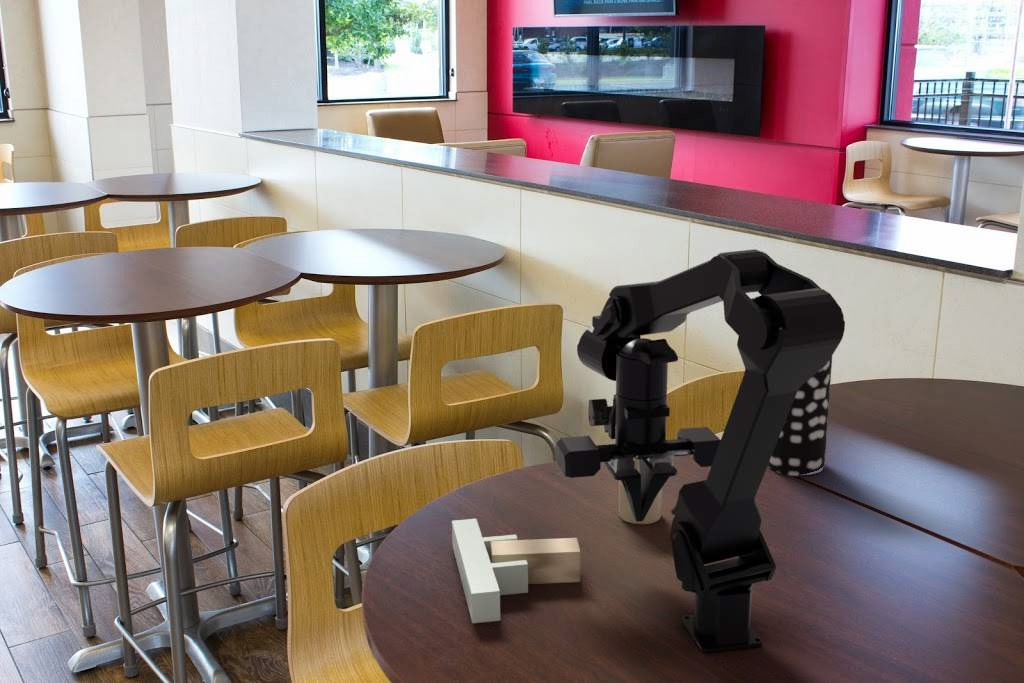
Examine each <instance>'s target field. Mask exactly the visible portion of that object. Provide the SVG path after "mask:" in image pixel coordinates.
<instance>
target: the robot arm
mask: <svg viewBox="0 0 1024 683" xmlns="http://www.w3.org/2000/svg"><path fill="white" fill-rule="evenodd" d="M750 293H758V294H759V295H758V296H755V297H752V298H751V297H750V296H749V295H748V294H750ZM721 302H722V303H723V315H724V321H725V322H726V324H727V325H728V326H729V327H730V328H731V329H732V331H734V333H735V334H736V335H737V336H738V339H737V342H736V346H737V349H738V352H739V354H740V357H741V361H742V363H743V366H744V374H743V377H742V379H741V382H740V384H739V389H738V391H737V394H736V396H735V399H734V402H733V404H732V406H731V407H732V408H731V410H730V414H729V416H728V418H727V421H726V423H725V424H726V425H725V427H724V430H723V433H722V435H721V437H720V438H721V439H720V438H719V436H717V435H716V434H715V433H714V432H713V431H712V430H711V429H710V428H709V427H708V426H701V427H690V428H689V427H688V428H680V429H679V430H678V431H677V434H676V438H675V439H667V417H668V418H669V417H670V414H671V413H670V409H671V408H670V406H669V405H668V376H669V374H668V373H669V372H668V370H669V363H675V362H676V363H677V362H678V360H679V357H678V355H677V354H678V353H677V352H676V351H675V349H673V348H672V347H671V346H670V345H669V343H668V341H667V339H666V338H661V339H651V338H645V337H642V336H646V335H647V336H648V335H655V334H662V333H668V332H669V333H670V332H672V331H674V330H675V329H676V328H678V327H679V326H681V325H682V324H683V323H685V322H686V320H687V316H688V315H689V314H690V313H692V312H696V311H699V310H702V309H704V308H708V307H710V306H712V305H715V304H716V305H717V304H718V303H721ZM591 320H592V321H591V322H592V323H591V326H589V327H588V328H587V329H586V330H585V331H584V332H583V333H582V334H581V336H580V338H579V341H578V344H577V345H576V346H577V347H576V352H577V353H576V354H577V356H578V359H579V361H580V362H581V363H582V365H584V366H585V367H586V368H588V369H590V370H591V371H594V372H595V373H597V374H599V375H601V376H602V377H605V378H606V379H608V380H610V381H613V382H615V394H613V399H612V405H610V406H609V405H608V401H607V399H606V398H597V399H596V398H595V399H588V411H587V412H588V414H587V415H588V423H589V426H590V427H600V426H603V428H604V433H605V434H608V435H607V436H608V437H609V440H614V443H612V444H611V443H610V444H609V443H608V444H598V445H596V443H595V442H594V440H593V439H592V438H591V436H590V435H583V436H582V435H581V436H579V435H578V436H568V437H560V438H559V440H558V441H557V442H556V443H555V447H554V448H555V454H554V456H555V461H556V463H557V465H558V466H559V468H560V470H561V472H562V474H563V475H564V477H566V478H570V479H572V478H573V479H574V478H585V477H594V476H595V475H596V474H597V473H599V471H600V470H601V467H602V466H601V463H603V464H604V466H605V467H606V468H607V470H608V471H609V473H610V475H611V476H612V477H613V479H614V480H616V481H619V480H621V482H622V484H623V486H624V489H625V492H626V495H627V498H628V501H629V504H630V507H631V510H632V513H633V516H634V519H635V520H636V522H639V521H640V522H641V521H643V520H644V519H645V517H646V515H647V513H648V511H649V509H650V507H651V505H652V503H653V501H654V499H655V498H656V496H657V494H658V493H659V491H660V490H661V488H662V489H663V488H664V485H665V484H666V483H667V481H668V480H669V478H671V477H675V476H677V475H678V470H677V468H676V467H675V466H674V461H675V457H682V456H692V460H693V461H694V462H695V463H696V464H697V465H698V466H699V467H700V468H708V467H710V470H709V472H708V475H707V478H706V479H703V480H700V481H694V482H693V481H692V482H690V483H684V484H682V487H681V488H680V489H679V492H678V497H677V501H676V504H675V506H674V508H672V510H671V511H670V512H671V515H673V519H672V521H671V527H670V533H669V539H670V544H671V550H672V551H671V552H672V555H673V556H672V557H673V563H674V564H673V565H674V569H675V574H676V575H675V576H676V579H677V580H679V581H680V582H681V589H682V590H683V591H685V592H690V593H692V594H693V593H694V602H693V603H694V606H693V614H692V613H691V614H685V615H683V616H682V618H681V621H682V623H683V625H684V626H685V628H686V630H687V631H688V632H689V635H690V636H691V637H692V639H693V640H694V642H695V644H696V645H697V647H698V649H699V650H700V651H701V652H703V653H713V652H721V651H728V650H739V649H745V648H747V649H748V648H757V647H758V648H759V647H761V646H763V639H762V638H761V636H760V635H759V633H758V632H757V631H756V629H755V628H754V627H753V625H752V624H751V617H752V616H751V615H752V599H753V598H752V597H753V585H754V584H757V583H761V582H770V581H771V580H772V579H773V576H774V574H775V571H776V568H777V565H776V563H775V559H774V558H773V556H772V553H771V551H770V548H769V547H768V545H767V542H766V540H765V538H764V536H763V534H762V530H761V525H762V520H763V517H762V514H761V512H760V509H759V507H758V504H757V501H756V496H757V494H758V491H759V488H760V485H761V483H762V480H763V478H764V476H765V473H766V472H767V471H766V470H767V469H768V467H767V466H768V464H769V461H770V459H771V456H772V454H773V451H774V449H775V446H776V444H777V441H778V439H779V436H780V434H781V431H782V429H783V426H784V424H785V421H786V419H787V416H788V414H789V411H790V409H791V406H792V404H793V401H794V399H795V396H796V394H797V391H798V390H799V388H800V387H801V386H802V385H803V384H804V383H805V382H807V381H808V380H809V379H810V378H811V377H813V376H814V375H815V374H816V373H817V372H818V371H820V370H821V369H822V368H823V367H824V366H825V365H826V364H827V363H828V361H829V360H830V358H831V356H832V357H833V355H834V353H835V352H836V350H837V349H838V347H839V345H840V344H841V342H842V340H843V337H844V334H845V327H846V321H845V317H844V313H843V310H842V308H841V306H840V305H839V304H838V303H837V300H836V299H835V298H834V297H833V296H832V294H831V293H830V292H828V291H827V290H825V289H824V288H821V287H820V286H819V285H818V284H817V283H816V282H815V281H814V280H812V278H811V279H810V278H809V277H808V276H807V277H806V276H804V275H802V274H801V273H799V272H796V271H794V270H791V269H790V268H787V267H785V266H783V265H781V264H778V263H777V262H776V261H775V260H774V258H772V257H770V255H769V254H767V253H766V252H764V251H761V250H758V249H746V250H744V249H743V250H736V251H727V252H726V251H725V252H720V253H718V254H717V255H714V256H713V257H712V258H710V260H707V261H705V262H702V263H700V264H697V265H695V266H693V267H690V268H688V269H686V270H682V271H681V272H678V273H675V274H674V275H671V276H669V277H666V278H664V279H662V280H657V281H649V282H641V283H640V282H639V283H631V284H624V285H623V284H621V285H615V286H614V287H613V288H612V289H611V290H610V292H609V296H608V299H607V300H606V302H605V304H604V306H603V308H602V310H601V312H600V314H599V315H593V316H592V319H591ZM641 337H642V338H641ZM636 459H639V465H640V473H639V472H638V470H637V469H636V468H635V464H636Z"/></svg>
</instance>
